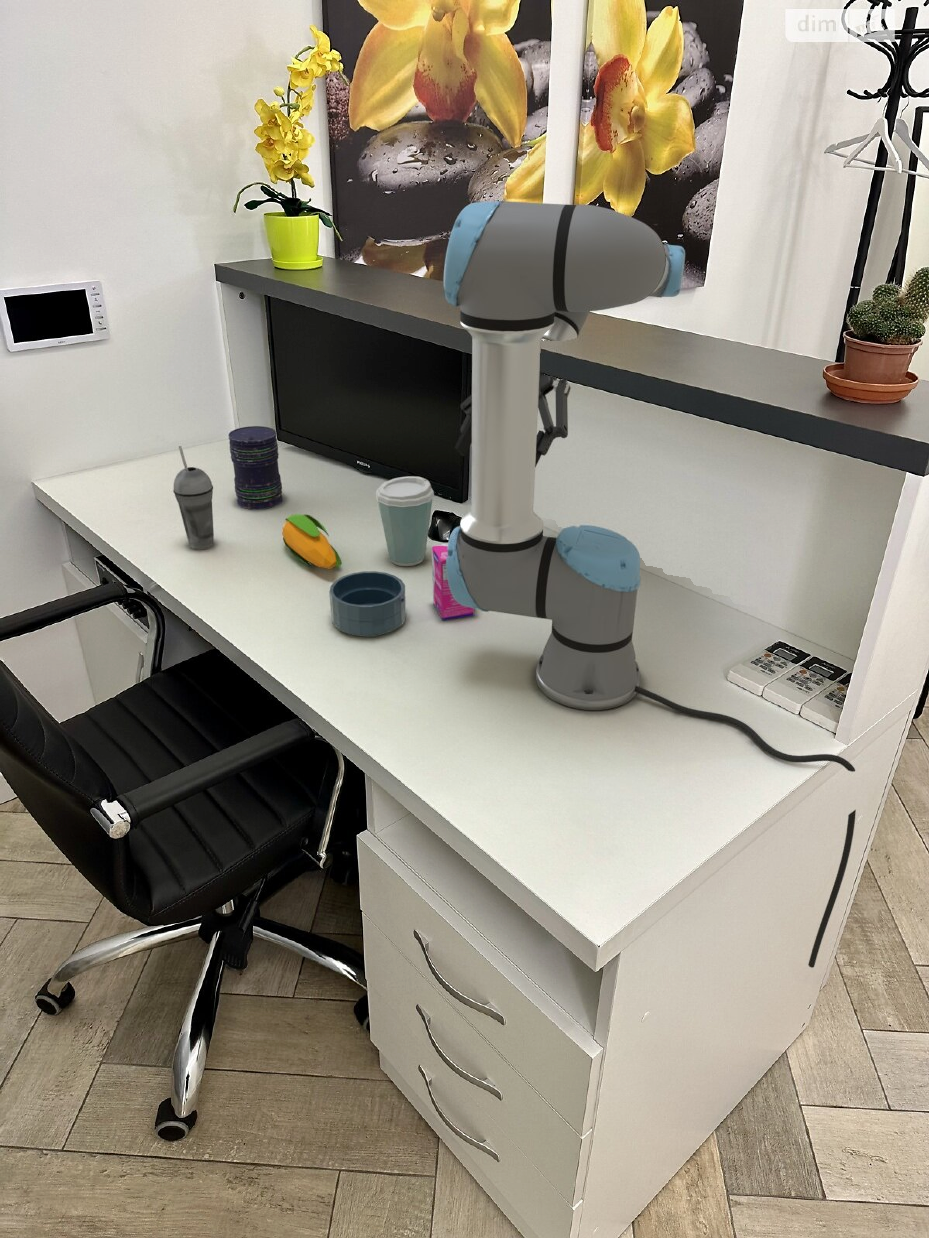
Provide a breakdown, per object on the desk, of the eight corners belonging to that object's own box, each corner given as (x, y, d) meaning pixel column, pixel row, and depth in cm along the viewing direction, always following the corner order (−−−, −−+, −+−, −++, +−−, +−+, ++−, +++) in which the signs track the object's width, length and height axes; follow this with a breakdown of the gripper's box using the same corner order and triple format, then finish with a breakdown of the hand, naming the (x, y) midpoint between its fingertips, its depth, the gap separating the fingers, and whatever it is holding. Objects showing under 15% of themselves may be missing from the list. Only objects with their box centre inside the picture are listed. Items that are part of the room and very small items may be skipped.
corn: (306, 500, 172) (351, 537, 157) (312, 535, 176) (356, 575, 161) (270, 510, 169) (313, 549, 154) (277, 546, 173) (319, 587, 158)
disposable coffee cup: (392, 576, 162) (389, 499, 154) (369, 553, 170) (365, 479, 162) (444, 564, 166) (444, 489, 158) (419, 542, 174) (417, 469, 167)
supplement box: (431, 605, 153) (430, 544, 147) (464, 600, 154) (465, 540, 148) (441, 621, 148) (440, 559, 142) (474, 616, 149) (475, 555, 144)
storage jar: (239, 492, 195) (231, 426, 188) (284, 491, 196) (278, 425, 189) (233, 510, 187) (224, 442, 179) (281, 509, 188) (274, 441, 180)
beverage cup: (223, 549, 171) (209, 449, 161) (184, 555, 168) (167, 454, 158) (218, 534, 177) (204, 437, 166) (180, 539, 174) (163, 441, 164)
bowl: (420, 623, 147) (419, 591, 144) (357, 647, 141) (355, 614, 138) (379, 595, 155) (378, 564, 152) (318, 616, 149) (315, 584, 146)
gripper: (618, 375, 146) (565, 488, 143) (494, 352, 159) (443, 455, 156) (605, 349, 140) (549, 466, 137) (477, 327, 153) (423, 434, 150)
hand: (492, 461), depth 147 cm, fingers open, 13 cm apart
